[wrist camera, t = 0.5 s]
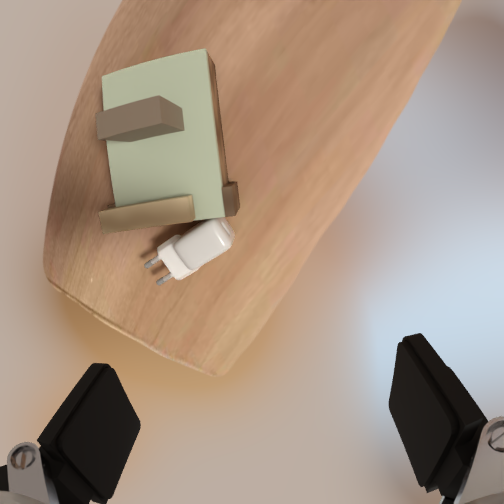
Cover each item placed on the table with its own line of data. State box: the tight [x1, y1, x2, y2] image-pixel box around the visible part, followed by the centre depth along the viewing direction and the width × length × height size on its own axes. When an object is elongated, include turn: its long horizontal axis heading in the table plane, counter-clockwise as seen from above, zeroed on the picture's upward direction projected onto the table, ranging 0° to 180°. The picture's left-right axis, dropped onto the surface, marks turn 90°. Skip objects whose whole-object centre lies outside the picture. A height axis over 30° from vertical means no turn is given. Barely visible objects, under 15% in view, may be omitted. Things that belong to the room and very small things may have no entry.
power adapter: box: [144, 217, 235, 285], centre depth 35 cm, size 11×5×6 cm, turn 122°
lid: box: [96, 49, 225, 221], centre depth 25 cm, size 18×12×8 cm, turn 7°
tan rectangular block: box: [98, 195, 196, 234], centre depth 29 cm, size 2×10×2 cm, turn 96°
